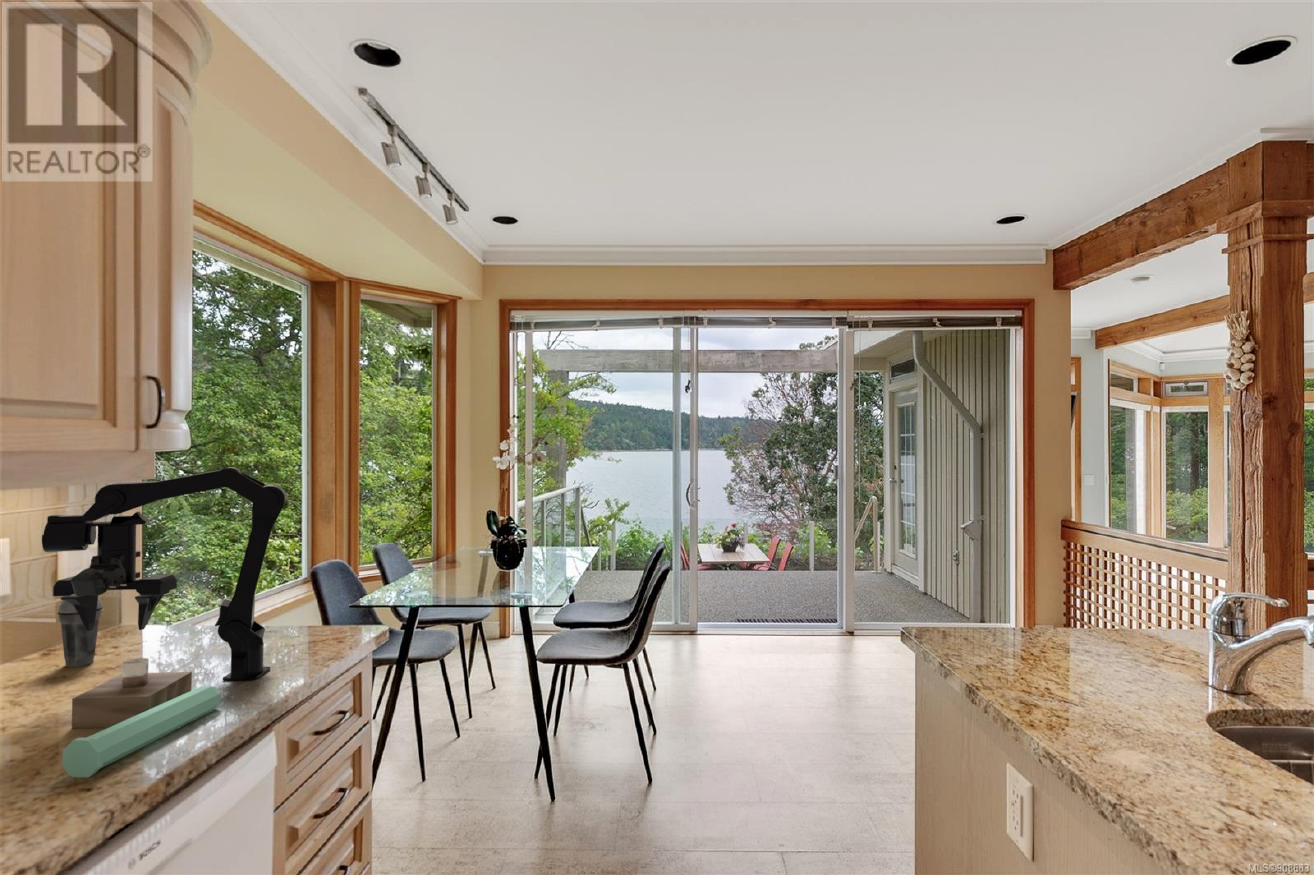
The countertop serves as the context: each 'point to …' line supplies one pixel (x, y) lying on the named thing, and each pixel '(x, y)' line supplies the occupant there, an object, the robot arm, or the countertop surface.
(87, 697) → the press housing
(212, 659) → the countertop surface
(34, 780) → the countertop surface
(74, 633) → the beverage cup
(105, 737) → the mint green octagonal rod
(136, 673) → the silver metal peg
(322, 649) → the countertop surface
